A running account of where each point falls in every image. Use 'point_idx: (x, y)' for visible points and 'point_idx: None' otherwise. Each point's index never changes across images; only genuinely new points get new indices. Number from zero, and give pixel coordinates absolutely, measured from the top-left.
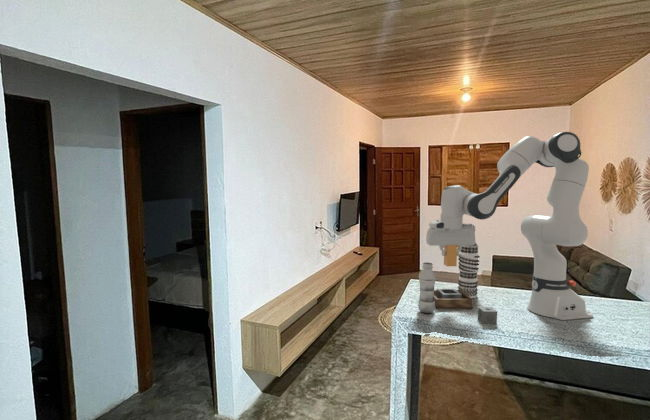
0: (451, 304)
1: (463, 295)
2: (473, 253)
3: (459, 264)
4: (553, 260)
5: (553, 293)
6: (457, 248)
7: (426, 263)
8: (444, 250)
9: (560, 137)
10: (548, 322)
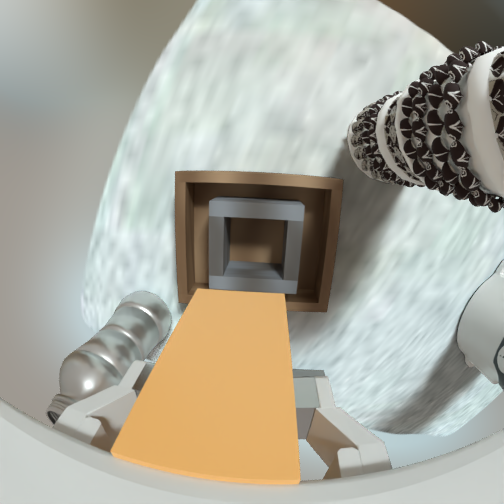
0: None
1: (325, 246)
2: None
3: (414, 113)
4: None
5: (497, 381)
6: (341, 434)
7: (59, 409)
8: (152, 384)
9: None
10: (436, 376)
